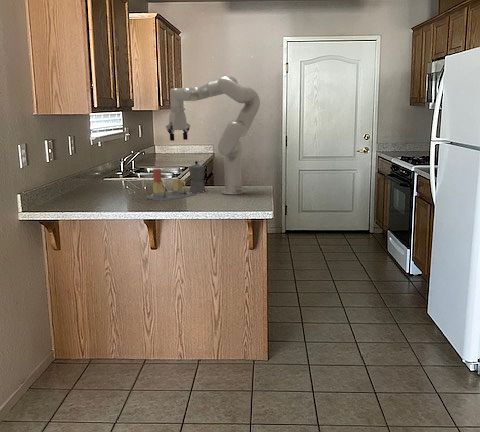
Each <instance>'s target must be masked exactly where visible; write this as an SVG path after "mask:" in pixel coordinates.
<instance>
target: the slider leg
mask: <svg viewBox="0 0 480 432" xmlns="http://www.w3.org/2000/svg"><path fill="white" fill-rule="evenodd" d="M161 170H162V169H161V168H154V169H152V173H153V175H152V177H153V181H152V189H153V191H152V194H154V193H163V185H164V196H166V194H165V183H166V182H165V183H164V182H161V178H162V171H161Z"/></svg>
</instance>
